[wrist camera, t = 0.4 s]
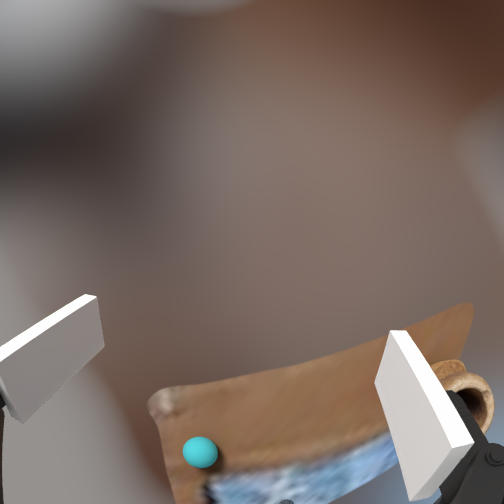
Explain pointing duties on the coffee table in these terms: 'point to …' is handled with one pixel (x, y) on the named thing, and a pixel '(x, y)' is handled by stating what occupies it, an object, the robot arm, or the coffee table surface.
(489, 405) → the tan boot-shaped piece
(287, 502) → the gate post
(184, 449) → the ball
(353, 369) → the coffee table surface
